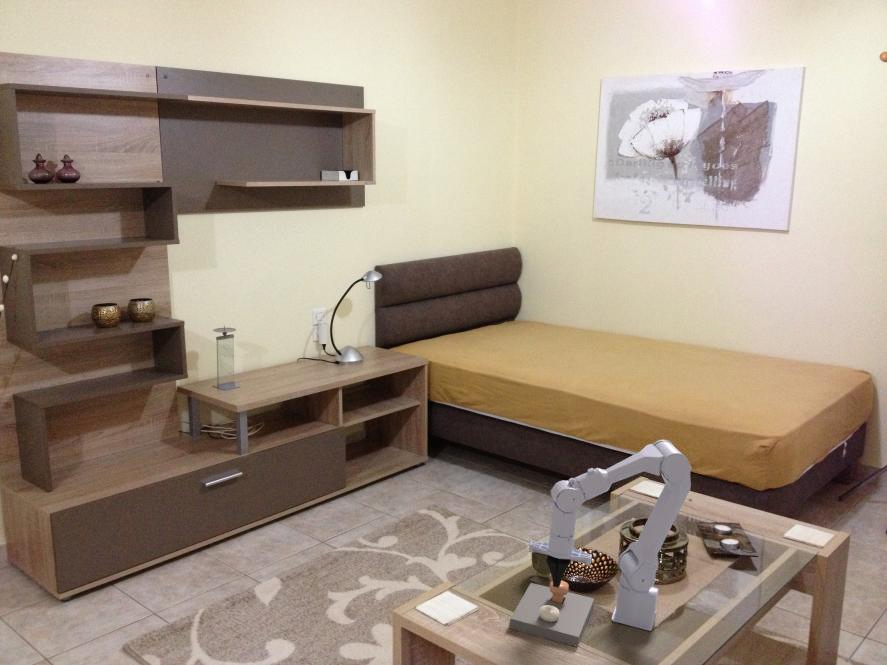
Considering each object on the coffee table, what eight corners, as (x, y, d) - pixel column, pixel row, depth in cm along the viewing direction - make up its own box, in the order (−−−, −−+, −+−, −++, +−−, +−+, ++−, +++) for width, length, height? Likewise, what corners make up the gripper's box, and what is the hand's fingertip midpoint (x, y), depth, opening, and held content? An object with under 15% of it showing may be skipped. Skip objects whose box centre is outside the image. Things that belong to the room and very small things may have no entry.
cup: (556, 585, 209) (559, 557, 207) (527, 581, 210) (530, 552, 209) (558, 571, 216) (561, 544, 214) (530, 567, 217) (533, 539, 216)
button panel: (593, 607, 200) (594, 598, 199) (577, 646, 183) (578, 637, 183) (530, 591, 205) (531, 582, 205) (509, 628, 189) (510, 618, 188)
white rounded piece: (559, 623, 191) (561, 608, 190) (554, 633, 187) (556, 617, 186) (541, 618, 193) (542, 603, 192) (536, 628, 189) (538, 612, 188)
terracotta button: (568, 597, 199) (570, 582, 198) (564, 606, 195) (566, 591, 194) (551, 593, 201) (552, 578, 200) (546, 601, 197) (548, 586, 196)
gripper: (596, 531, 191) (590, 584, 194) (536, 518, 196) (531, 570, 199) (590, 544, 185) (584, 598, 188) (528, 530, 190) (523, 583, 193)
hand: (556, 585), depth 193 cm, fingers closed
